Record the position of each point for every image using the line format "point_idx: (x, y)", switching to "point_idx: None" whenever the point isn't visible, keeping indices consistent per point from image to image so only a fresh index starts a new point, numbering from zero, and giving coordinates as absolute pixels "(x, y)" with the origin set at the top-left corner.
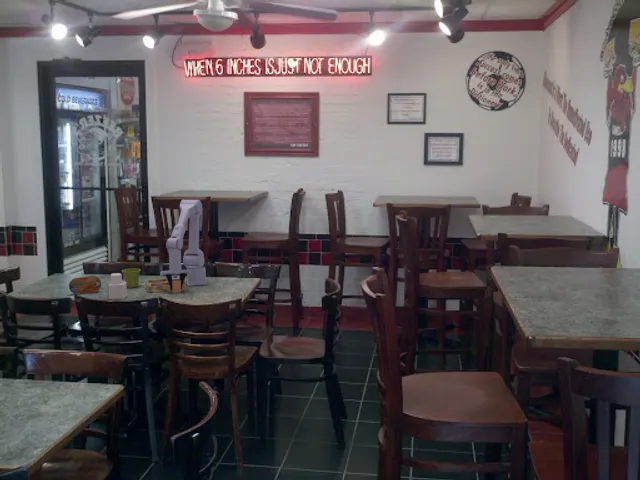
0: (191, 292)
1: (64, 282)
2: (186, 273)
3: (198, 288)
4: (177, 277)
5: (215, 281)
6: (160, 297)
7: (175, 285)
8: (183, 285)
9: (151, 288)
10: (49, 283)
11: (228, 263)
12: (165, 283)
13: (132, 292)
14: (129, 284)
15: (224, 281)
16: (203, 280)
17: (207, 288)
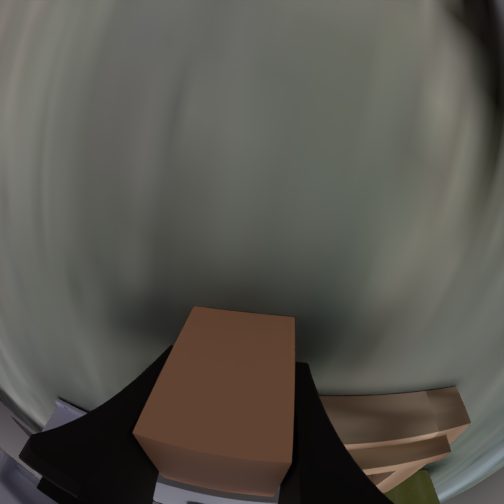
0: (90, 250)
1: (465, 485)
2: (34, 480)
3: (67, 357)
4: (186, 501)
5: (47, 412)
6: (492, 148)
7: (245, 388)
8: None
9: (448, 415)
10: (485, 476)
11: None
12: None
13: (488, 407)
14: (428, 480)
15: (20, 390)
16: (59, 422)
17: (23, 322)
